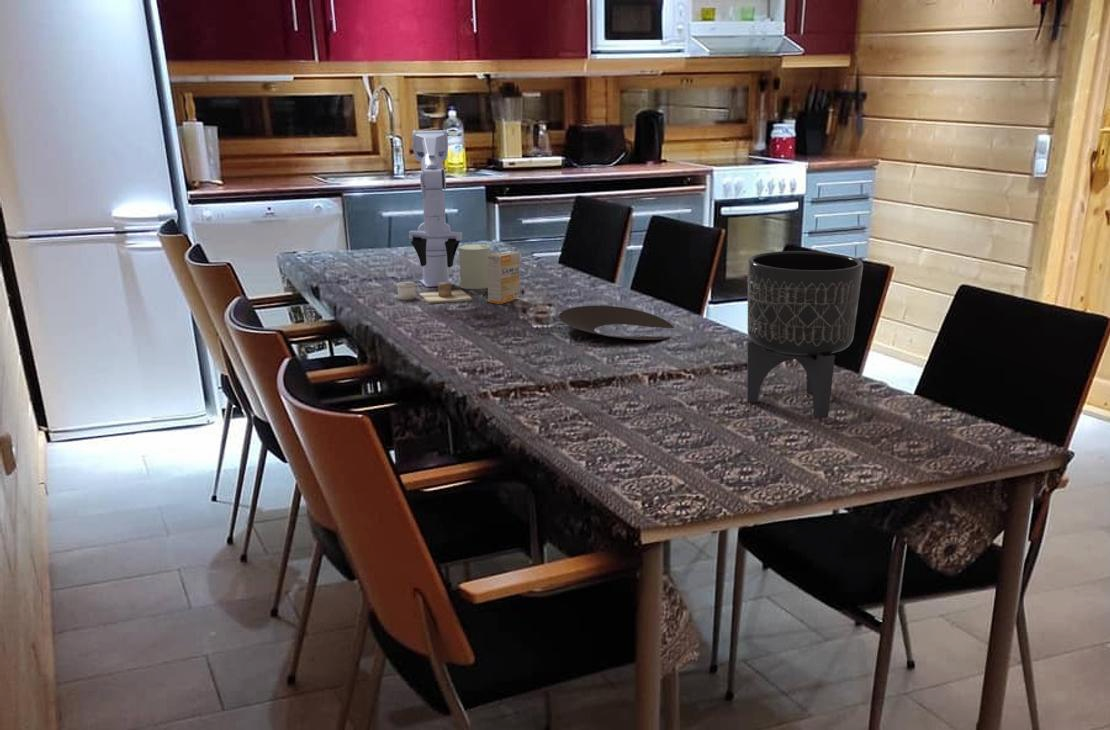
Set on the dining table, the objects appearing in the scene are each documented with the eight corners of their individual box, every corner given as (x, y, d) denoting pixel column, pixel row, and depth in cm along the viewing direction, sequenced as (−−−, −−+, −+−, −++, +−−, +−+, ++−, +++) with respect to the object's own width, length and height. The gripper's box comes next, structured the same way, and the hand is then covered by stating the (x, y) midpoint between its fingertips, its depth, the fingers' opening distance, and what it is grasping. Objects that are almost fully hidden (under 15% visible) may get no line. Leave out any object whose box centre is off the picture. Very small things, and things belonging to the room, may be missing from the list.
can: (490, 289, 270) (489, 247, 267) (458, 289, 271) (456, 247, 267) (492, 282, 279) (491, 242, 276) (461, 282, 280) (460, 242, 276)
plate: (671, 349, 209) (671, 333, 208) (547, 343, 215) (547, 327, 213) (680, 319, 235) (681, 304, 234) (570, 314, 241) (570, 300, 240)
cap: (395, 296, 262) (395, 282, 261) (413, 295, 264) (412, 281, 263) (399, 300, 258) (398, 286, 256) (417, 299, 259) (416, 284, 258)
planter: (771, 380, 186) (779, 247, 178) (868, 400, 174) (881, 258, 166) (721, 406, 172) (727, 262, 164) (823, 429, 160) (835, 275, 152)
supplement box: (501, 305, 251) (500, 256, 248) (487, 302, 254) (486, 254, 250) (520, 299, 258) (519, 251, 254) (507, 297, 260) (506, 250, 257)
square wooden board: (419, 295, 264) (418, 281, 263) (461, 291, 268) (460, 277, 266) (428, 304, 253) (427, 289, 252) (471, 300, 257) (471, 285, 256)
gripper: (403, 216, 248) (405, 267, 251) (454, 218, 244) (456, 270, 248) (413, 213, 254) (416, 262, 258) (464, 214, 250) (466, 265, 254)
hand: (436, 266), depth 253 cm, fingers open, 7 cm apart
